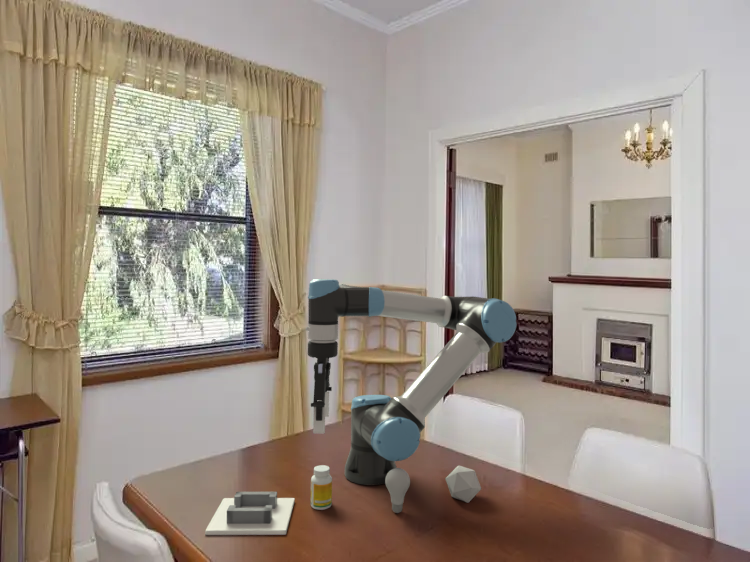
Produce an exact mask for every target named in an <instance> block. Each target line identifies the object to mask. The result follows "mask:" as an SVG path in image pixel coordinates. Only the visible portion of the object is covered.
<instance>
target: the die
mask: <svg viewBox="0 0 750 562" xmlns="http://www.w3.org/2000/svg"><path fill="white" fill-rule="evenodd" d="M477 475H478V474H477V473H476V471H475V470H474V469H472V468H468V467H465V466H462V465H457V466H456V467H455V468H454V469H453V470H452V471H451V472H450V473H449V474H448V475H447V476H446V477H445V482H446V485H447V488H448V490H449V493H450V497H452V498H454V499H457V500H459V501H461V502H464V503H470V501H472V500H473V498H475V496H476V495H477V494H479V492H480V491H481V490H482V487H481V484H480V482H479V478H478V476H477Z"/></svg>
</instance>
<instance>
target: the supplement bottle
mask: <svg viewBox="0 0 750 562" xmlns="http://www.w3.org/2000/svg"><path fill="white" fill-rule="evenodd" d="M332 497H333V476H331V471H330V467H329V465H324V464H321V465H316V466H314V468H313V475H312V476H311V479H310V506H311V508H312V509H315V510H317V511H318V510H321V511H323V510H327V509H329V508H331V506H332V503H333V500H332V499H333V498H332Z"/></svg>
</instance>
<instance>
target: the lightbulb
mask: <svg viewBox="0 0 750 562" xmlns="http://www.w3.org/2000/svg"><path fill="white" fill-rule="evenodd" d="M410 485H411V478H410V475H409V473H408V472H407V471H406V470H405V469H403V468H401V467H396V468H394V469H392V470H390V471H389V472H388V474H387V475H386V479H385V487H386V488H387V490H388V492H389V494H390V495H389V496H390V502H391V511H392V512H393V513H396V514H399V513H401V512H402V511H403V507H404V506H403V505H404V504H403V503H404V501H405V495H406V493H407V491H408V490H409V488H410Z"/></svg>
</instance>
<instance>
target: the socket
mask: <svg viewBox="0 0 750 562" xmlns="http://www.w3.org/2000/svg"><path fill="white" fill-rule="evenodd" d="M294 504H295V497H278V491H236V493H235V494H234V496H233V497H224V498H222V500H221V503H220V504H219V506H218V507H217V509H216V510H215V513H214V514H213V516H212V518H211V520H210V521H209V523H208V525H207V526H206V529H205V530H204V532H205V533H204V536H232V535H233V536H238V535H239V536H240V535H241V536H242V535H243V536H244V535H247V536H250V535H253V536H257V535H260V536H265V535H266V536H268V535H269V536H270V535H272V536H273V535H277V536H278V535H281V536H282V535H287V531H288V528H289V524H290V522H291V521H290V520H291V516H292V513H293V508H294V506H295V505H294Z"/></svg>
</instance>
